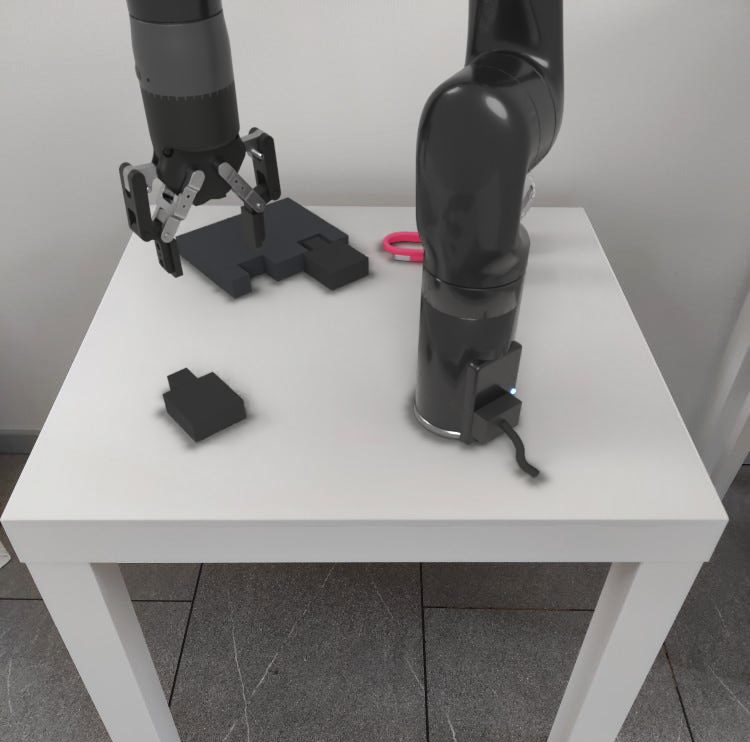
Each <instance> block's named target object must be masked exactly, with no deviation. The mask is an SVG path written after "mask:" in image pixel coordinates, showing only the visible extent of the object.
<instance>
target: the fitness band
mask: <svg viewBox="0 0 750 742" xmlns="http://www.w3.org/2000/svg"><path fill="white" fill-rule="evenodd" d="M397 242H410V243H411V242H412V243H422V242H421V240H420V237H419V234H418V231H395V232H391V233H388V234H387V235H386V236H384V238H383V240H382V247H383V249H384V251H386V252H388V253H391V254H394V260H395V261H407V262H423V249H422V248H421V249H418V248H404V247H403V248H402V247H398V246H394V245H391V244H394V243H397Z"/></svg>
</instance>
